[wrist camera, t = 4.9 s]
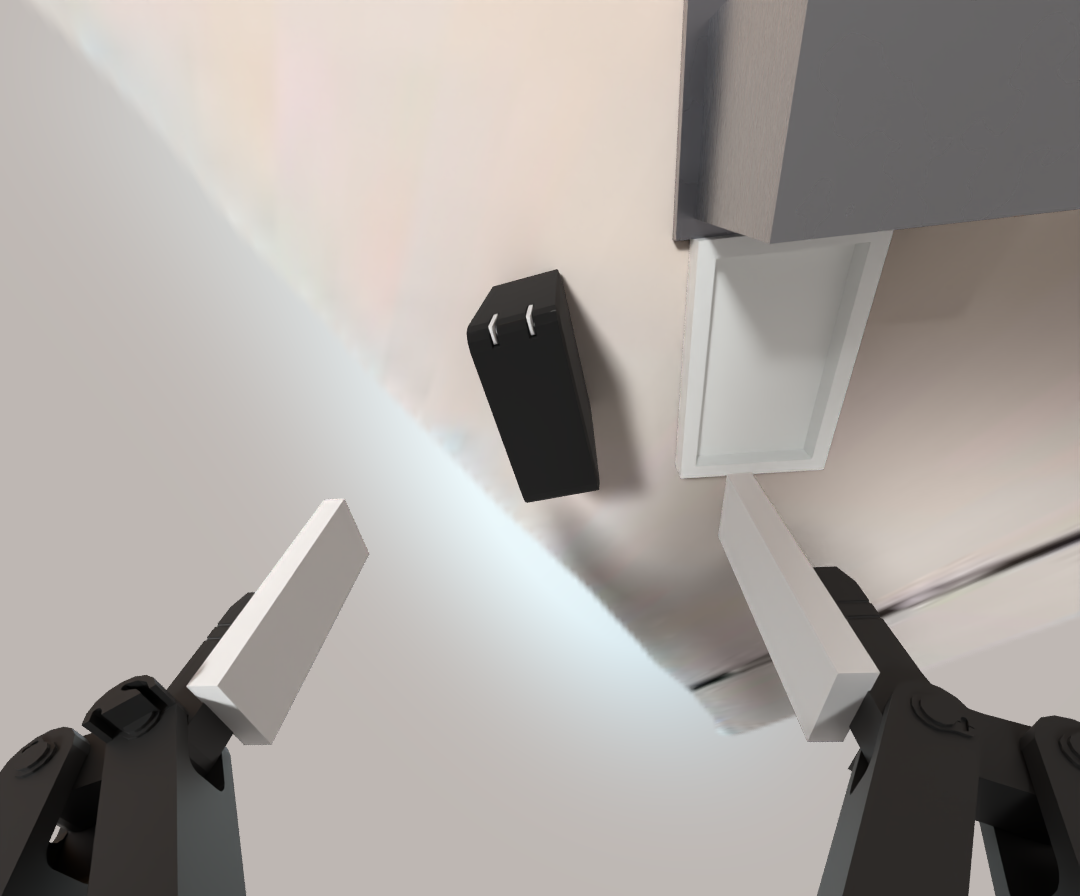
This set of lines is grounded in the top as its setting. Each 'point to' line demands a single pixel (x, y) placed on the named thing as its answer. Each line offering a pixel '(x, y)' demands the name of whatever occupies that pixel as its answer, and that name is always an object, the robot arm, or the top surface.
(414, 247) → the top surface
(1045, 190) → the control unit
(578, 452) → the electronic device
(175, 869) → the robot arm
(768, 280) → the tray
